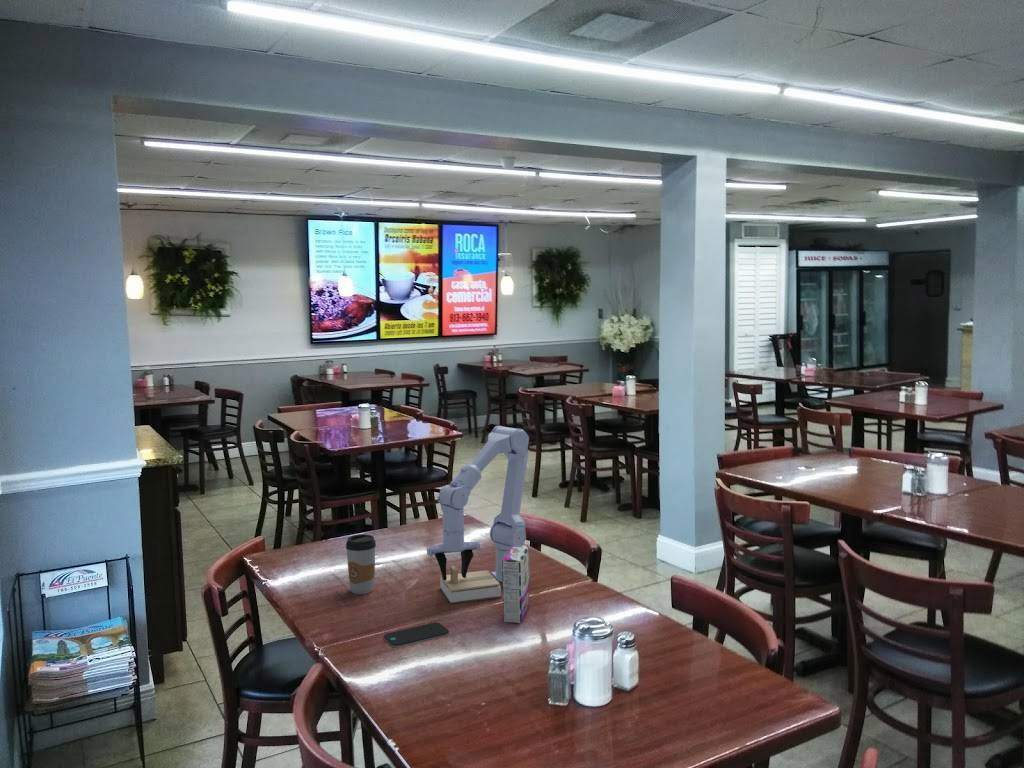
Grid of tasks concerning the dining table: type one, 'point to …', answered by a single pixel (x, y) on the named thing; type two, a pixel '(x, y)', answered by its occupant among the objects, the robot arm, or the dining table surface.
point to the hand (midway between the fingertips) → (454, 578)
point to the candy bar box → (515, 584)
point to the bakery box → (470, 593)
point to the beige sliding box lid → (469, 580)
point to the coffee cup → (361, 563)
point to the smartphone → (416, 634)
